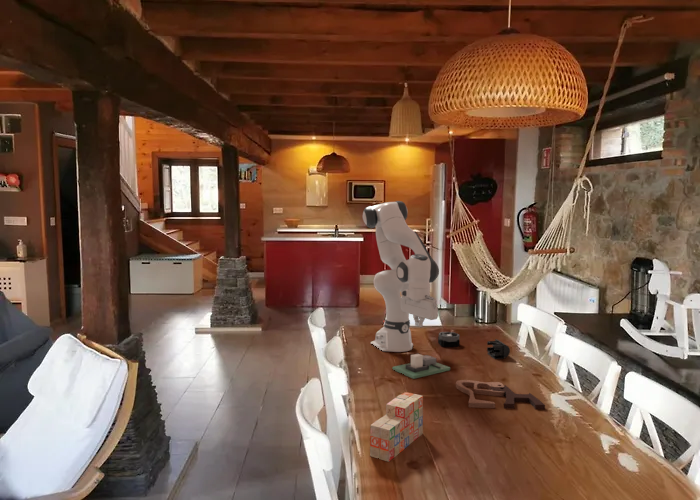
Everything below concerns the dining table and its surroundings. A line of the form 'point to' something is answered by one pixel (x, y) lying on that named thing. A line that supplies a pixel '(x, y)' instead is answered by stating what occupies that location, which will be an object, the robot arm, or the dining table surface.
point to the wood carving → (496, 394)
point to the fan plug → (416, 360)
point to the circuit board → (422, 368)
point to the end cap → (498, 349)
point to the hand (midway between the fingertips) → (418, 326)
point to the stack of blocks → (397, 426)
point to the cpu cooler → (448, 339)
